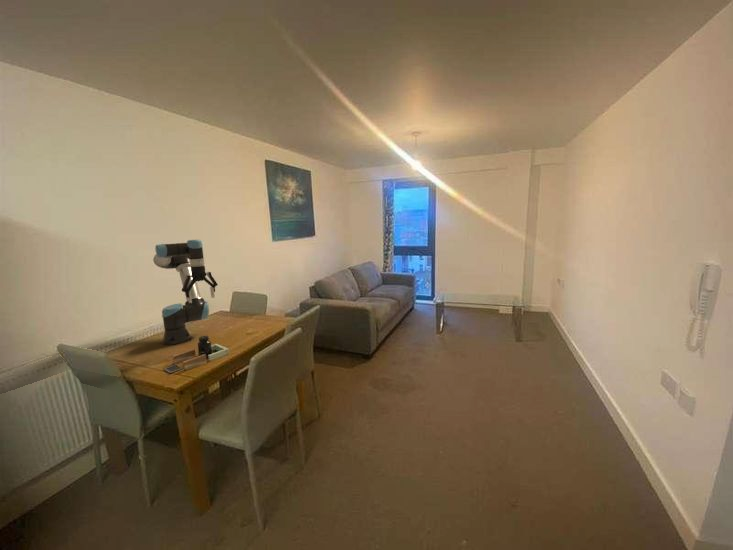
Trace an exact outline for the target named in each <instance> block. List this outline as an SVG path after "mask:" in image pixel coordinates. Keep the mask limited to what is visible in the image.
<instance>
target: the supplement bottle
mask: <svg viewBox="0 0 733 550" xmlns="http://www.w3.org/2000/svg"><path fill="white" fill-rule="evenodd" d="M211 345H212V342H211V340H210V338H209V336H208V335H202V336H200V337H199V338H198V343H197V354H198V353H199V355H198V356H201V355H203V354H205V355H206V359H207V360H209V357H208V355H210V354H213V351H212V346H211Z"/></svg>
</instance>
